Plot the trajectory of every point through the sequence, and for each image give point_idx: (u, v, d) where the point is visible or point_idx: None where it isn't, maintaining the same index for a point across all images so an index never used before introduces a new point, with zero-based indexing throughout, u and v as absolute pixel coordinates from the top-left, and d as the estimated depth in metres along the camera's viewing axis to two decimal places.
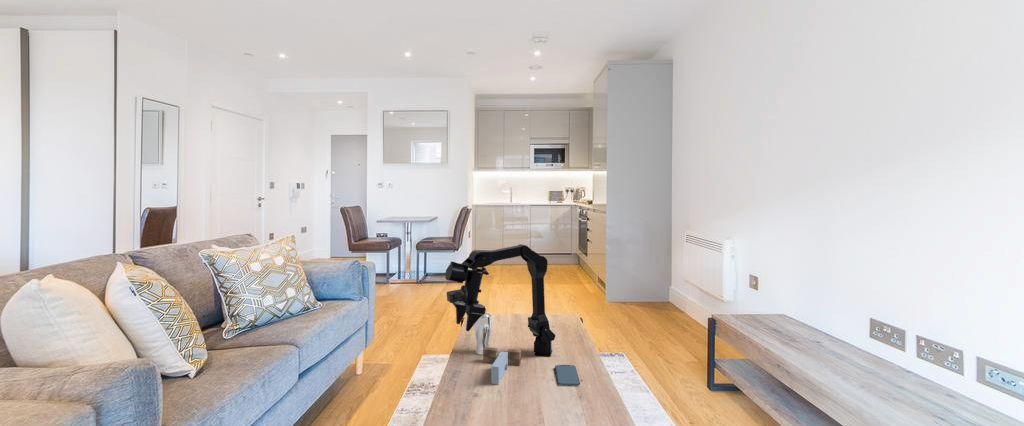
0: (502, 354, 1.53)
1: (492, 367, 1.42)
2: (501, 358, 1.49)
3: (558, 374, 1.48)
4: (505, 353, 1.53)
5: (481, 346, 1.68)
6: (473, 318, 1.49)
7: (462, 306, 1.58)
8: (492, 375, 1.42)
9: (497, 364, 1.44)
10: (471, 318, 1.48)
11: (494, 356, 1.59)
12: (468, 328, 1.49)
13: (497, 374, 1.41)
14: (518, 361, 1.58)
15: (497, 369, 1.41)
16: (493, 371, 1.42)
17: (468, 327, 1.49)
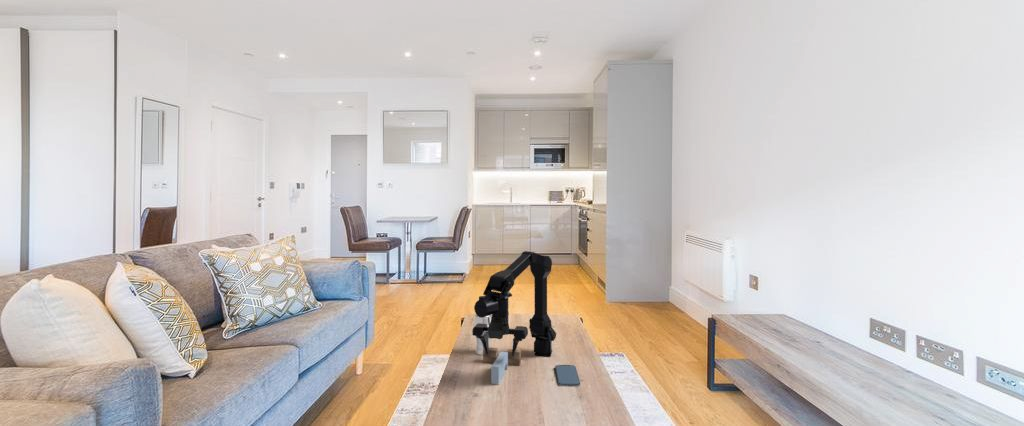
0: (502, 354, 1.53)
1: (492, 367, 1.42)
2: (501, 358, 1.49)
3: (558, 374, 1.48)
4: (505, 353, 1.53)
5: (481, 346, 1.68)
6: None
7: (486, 335, 1.50)
8: (492, 375, 1.42)
9: (497, 364, 1.44)
10: None
11: (494, 356, 1.59)
12: (514, 353, 1.47)
13: (497, 374, 1.41)
14: (518, 361, 1.58)
15: (497, 369, 1.41)
16: (493, 371, 1.42)
17: (514, 352, 1.47)
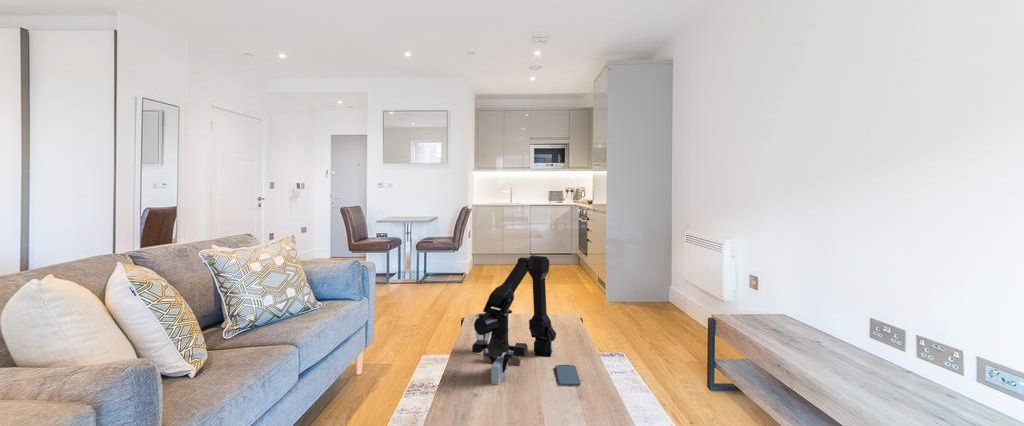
0: None
1: (492, 367, 1.42)
2: (501, 358, 1.49)
3: (558, 374, 1.48)
4: None
5: None
6: None
7: None
8: (492, 375, 1.42)
9: (497, 364, 1.43)
10: None
11: None
12: (505, 369, 1.48)
13: (497, 374, 1.41)
14: (518, 361, 1.58)
15: (497, 369, 1.41)
16: (493, 371, 1.42)
17: (505, 368, 1.48)
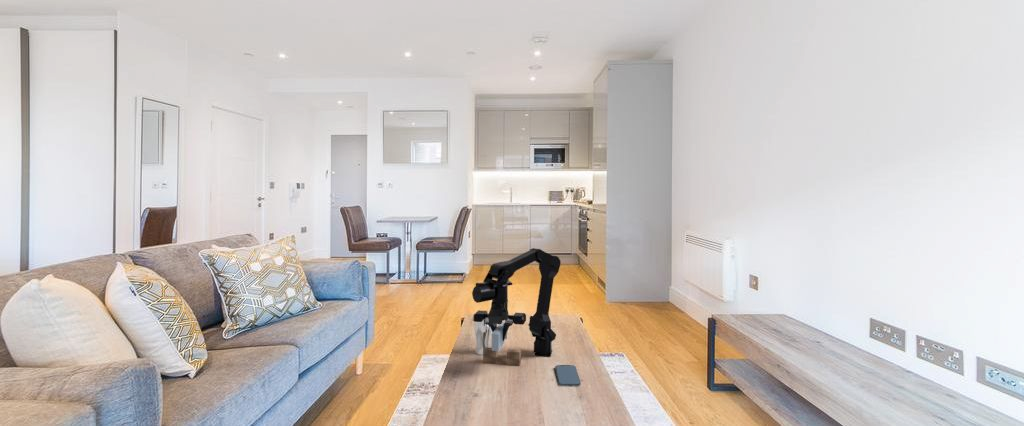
0: (501, 324, 1.60)
1: (492, 334, 1.49)
2: (501, 327, 1.56)
3: (558, 374, 1.48)
4: None
5: (481, 346, 1.68)
6: None
7: None
8: (492, 342, 1.49)
9: (497, 332, 1.51)
10: None
11: (494, 356, 1.59)
12: (504, 338, 1.55)
13: (497, 341, 1.49)
14: (518, 361, 1.58)
15: (497, 336, 1.49)
16: (493, 338, 1.49)
17: None
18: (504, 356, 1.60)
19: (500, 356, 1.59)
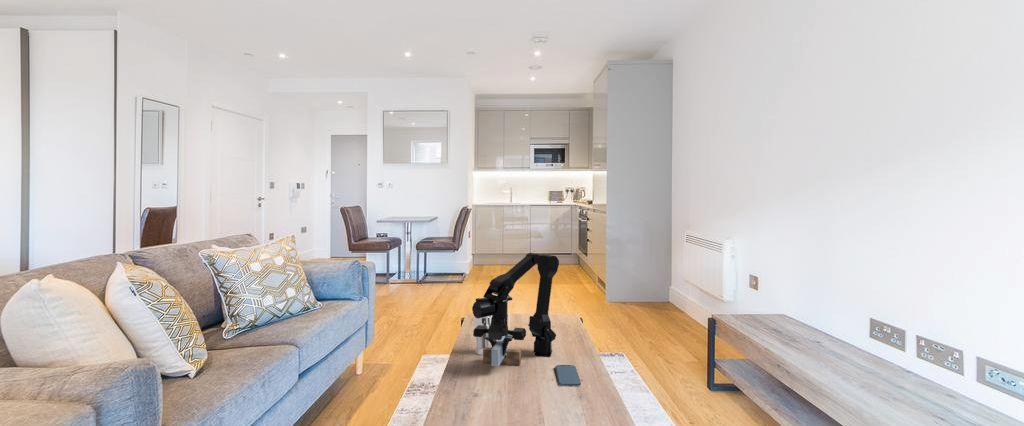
0: (501, 339, 1.60)
1: (492, 350, 1.49)
2: (501, 342, 1.56)
3: (558, 374, 1.48)
4: None
5: (481, 346, 1.68)
6: None
7: None
8: (492, 357, 1.49)
9: (497, 347, 1.51)
10: None
11: None
12: (504, 353, 1.56)
13: (497, 356, 1.49)
14: (518, 361, 1.58)
15: (497, 352, 1.49)
16: (493, 354, 1.49)
17: (504, 352, 1.55)
18: (504, 356, 1.60)
19: None
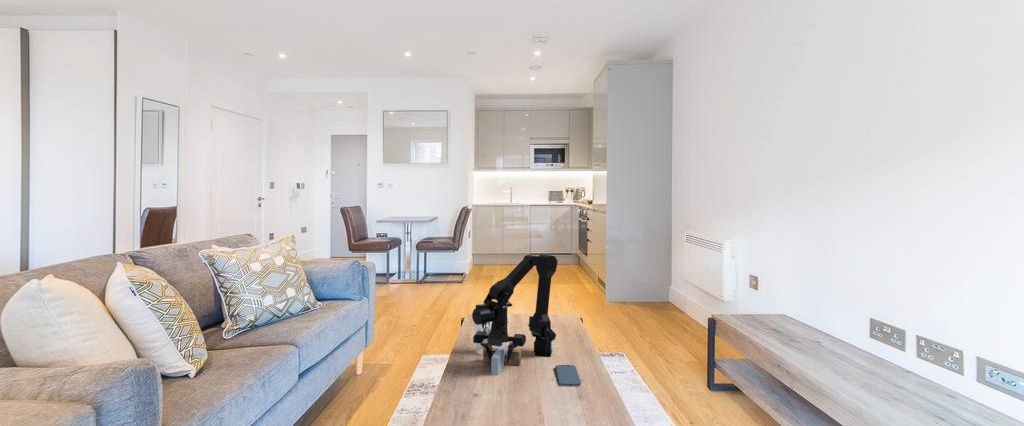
0: (501, 346, 1.60)
1: (492, 358, 1.49)
2: (501, 350, 1.56)
3: (559, 374, 1.48)
4: (505, 346, 1.61)
5: (481, 346, 1.68)
6: None
7: None
8: (492, 366, 1.50)
9: (497, 355, 1.51)
10: None
11: None
12: (509, 359, 1.55)
13: (497, 365, 1.49)
14: (518, 361, 1.58)
15: (497, 360, 1.49)
16: (493, 362, 1.49)
17: (509, 358, 1.55)
18: None
19: None
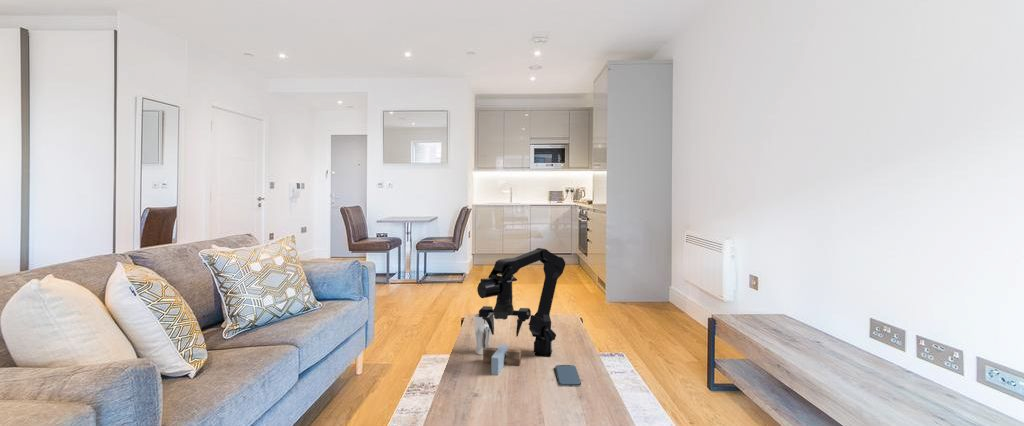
0: (501, 346, 1.60)
1: (492, 358, 1.49)
2: (501, 350, 1.56)
3: (559, 374, 1.48)
4: (505, 346, 1.61)
5: (481, 346, 1.68)
6: None
7: (491, 317, 1.59)
8: (492, 366, 1.50)
9: (497, 355, 1.51)
10: None
11: None
12: (518, 333, 1.57)
13: (497, 365, 1.49)
14: (518, 361, 1.58)
15: (497, 360, 1.49)
16: (493, 362, 1.49)
17: (518, 332, 1.57)
18: None
19: None
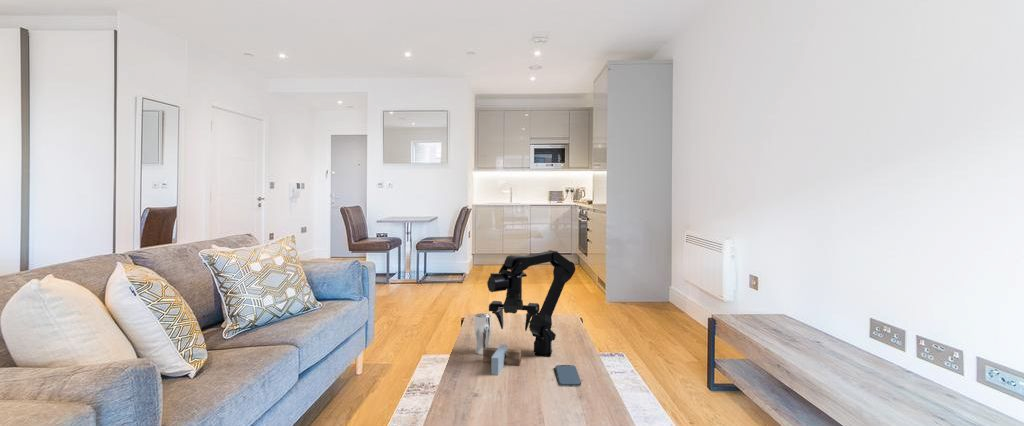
0: (501, 346, 1.60)
1: (492, 358, 1.49)
2: (501, 350, 1.56)
3: (559, 374, 1.48)
4: (505, 346, 1.61)
5: (481, 346, 1.68)
6: None
7: (501, 311, 1.63)
8: (492, 366, 1.50)
9: (497, 355, 1.51)
10: None
11: None
12: None
13: (497, 365, 1.49)
14: (518, 361, 1.58)
15: (497, 360, 1.49)
16: (493, 362, 1.49)
17: (527, 326, 1.60)
18: None
19: None
